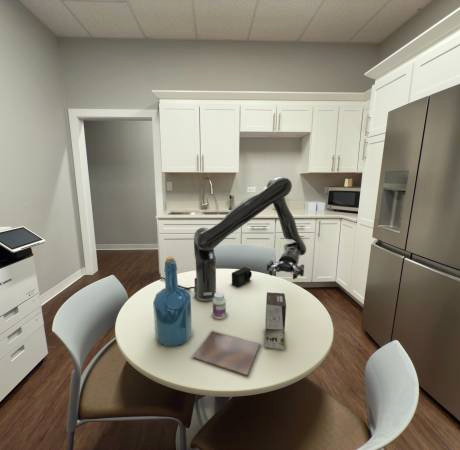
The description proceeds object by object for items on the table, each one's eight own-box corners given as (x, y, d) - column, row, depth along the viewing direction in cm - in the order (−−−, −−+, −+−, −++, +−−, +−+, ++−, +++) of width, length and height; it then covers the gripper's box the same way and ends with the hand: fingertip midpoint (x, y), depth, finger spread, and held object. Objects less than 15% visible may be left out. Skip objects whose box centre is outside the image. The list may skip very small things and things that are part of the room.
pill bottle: (212, 312, 105) (212, 291, 103) (225, 311, 106) (224, 290, 104) (213, 319, 100) (212, 298, 98) (226, 319, 101) (226, 297, 98)
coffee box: (284, 350, 83) (286, 306, 80) (264, 347, 84) (266, 304, 81) (283, 332, 92) (285, 292, 88) (265, 330, 93) (266, 291, 90)
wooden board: (193, 358, 80) (193, 356, 80) (212, 332, 92) (212, 331, 92) (247, 376, 73) (247, 374, 73) (259, 345, 85) (259, 344, 85)
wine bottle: (153, 328, 95) (148, 254, 88) (187, 321, 99) (184, 249, 93) (158, 352, 82) (152, 267, 76) (197, 342, 87) (194, 262, 80)
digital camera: (239, 288, 126) (239, 275, 125) (231, 285, 130) (231, 272, 129) (251, 281, 134) (252, 269, 132) (244, 278, 137) (244, 266, 136)
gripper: (273, 250, 110) (263, 263, 96) (307, 254, 104) (302, 268, 90) (272, 266, 112) (263, 281, 97) (305, 270, 106) (301, 287, 91)
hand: (282, 275), depth 94 cm, fingers open, 8 cm apart
